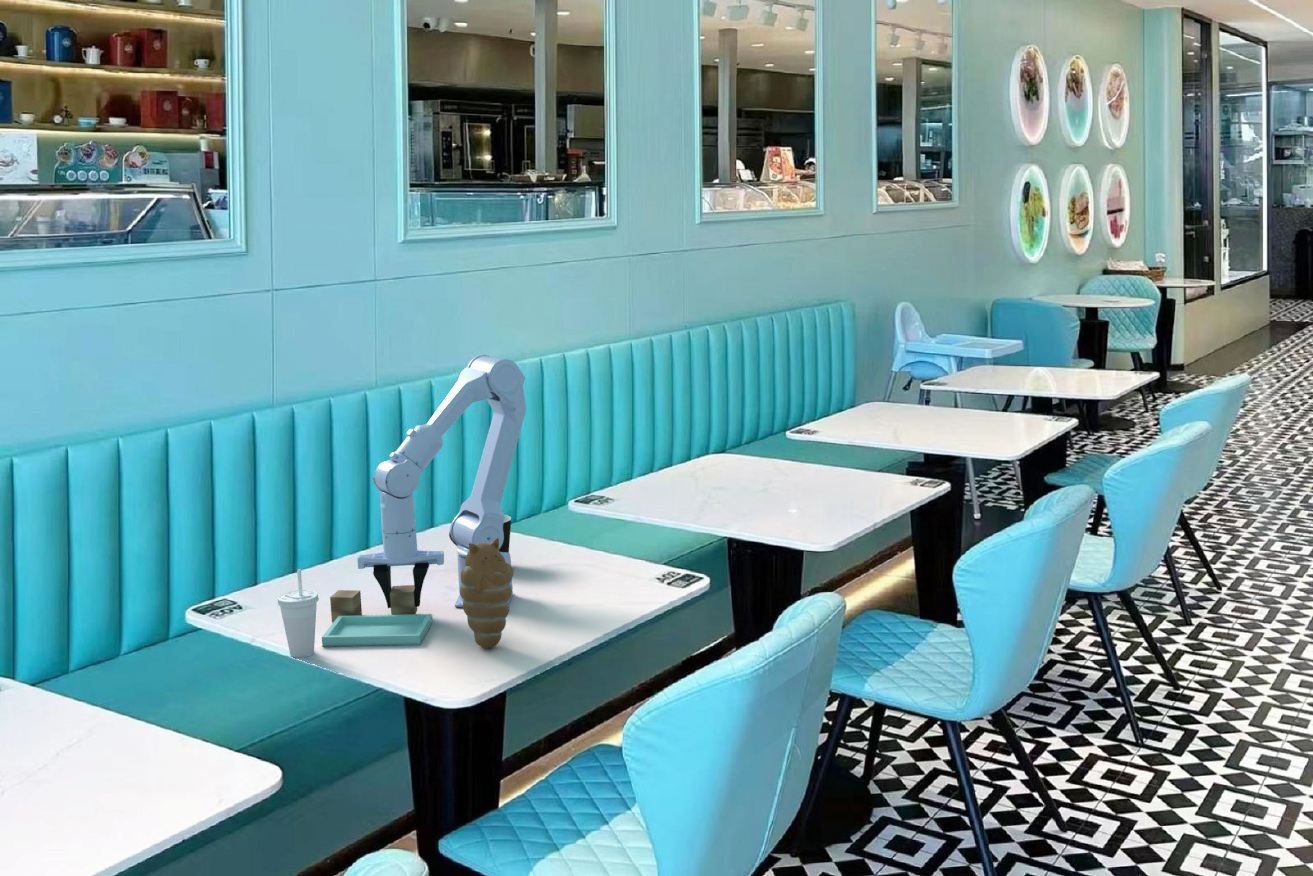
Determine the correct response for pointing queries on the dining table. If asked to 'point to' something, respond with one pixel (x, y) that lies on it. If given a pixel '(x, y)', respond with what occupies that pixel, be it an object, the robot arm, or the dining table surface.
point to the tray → (377, 630)
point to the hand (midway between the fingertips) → (404, 605)
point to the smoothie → (299, 619)
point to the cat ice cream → (486, 592)
